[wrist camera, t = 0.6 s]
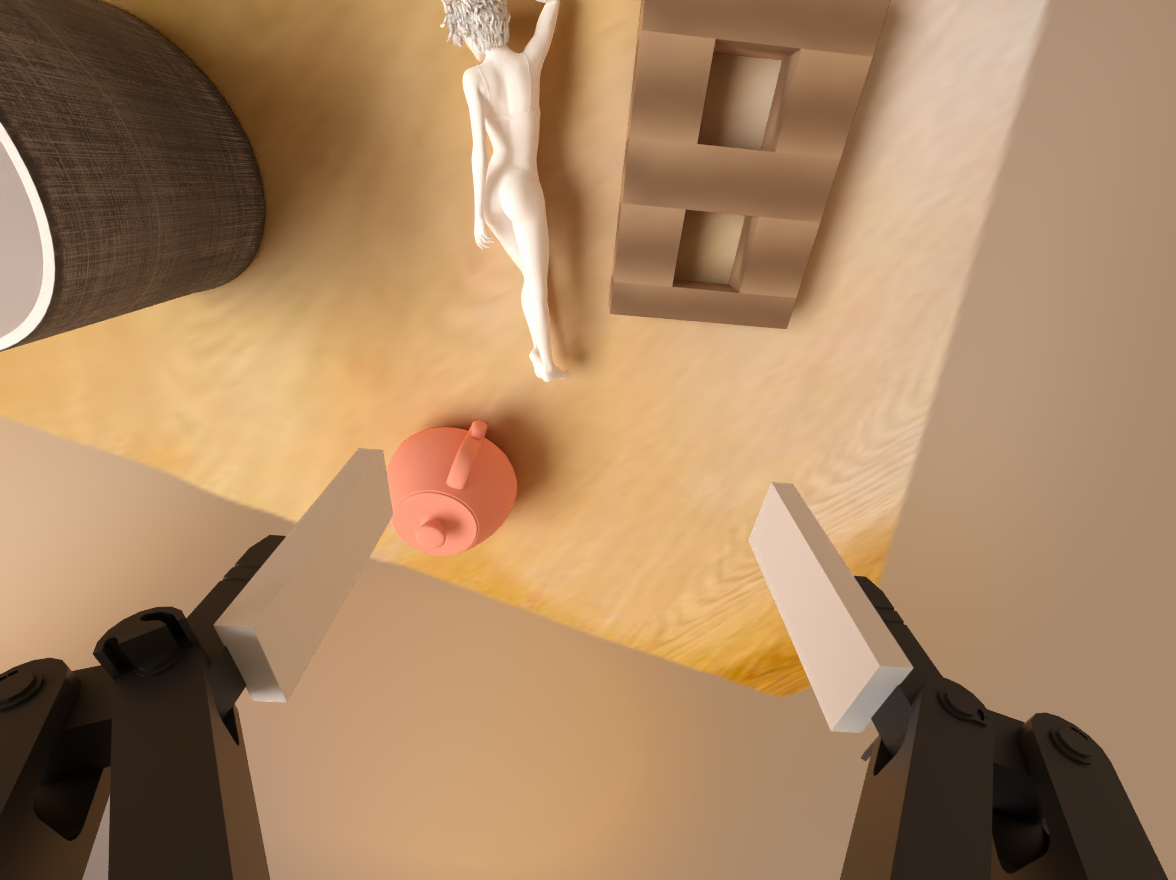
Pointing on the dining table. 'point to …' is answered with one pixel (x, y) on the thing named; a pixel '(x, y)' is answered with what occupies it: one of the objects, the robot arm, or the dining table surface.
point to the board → (735, 151)
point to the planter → (112, 171)
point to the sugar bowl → (449, 489)
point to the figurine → (509, 150)
